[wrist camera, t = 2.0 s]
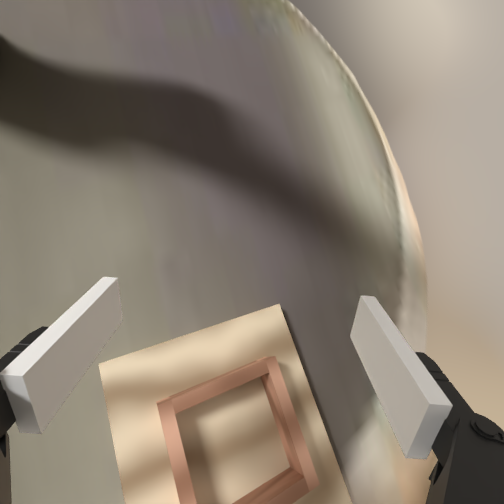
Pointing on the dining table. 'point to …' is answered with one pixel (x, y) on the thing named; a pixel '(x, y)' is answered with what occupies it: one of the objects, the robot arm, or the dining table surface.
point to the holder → (220, 419)
